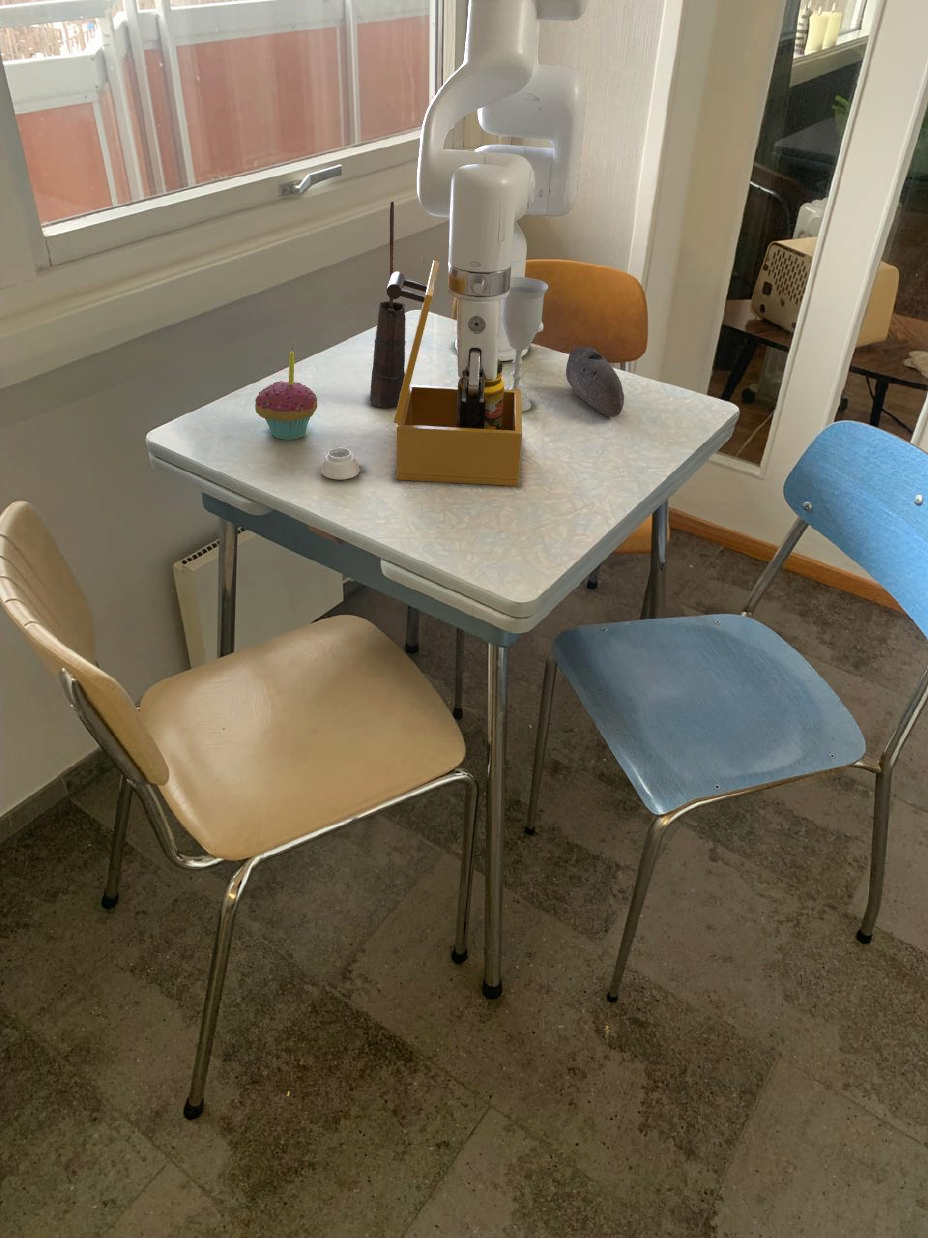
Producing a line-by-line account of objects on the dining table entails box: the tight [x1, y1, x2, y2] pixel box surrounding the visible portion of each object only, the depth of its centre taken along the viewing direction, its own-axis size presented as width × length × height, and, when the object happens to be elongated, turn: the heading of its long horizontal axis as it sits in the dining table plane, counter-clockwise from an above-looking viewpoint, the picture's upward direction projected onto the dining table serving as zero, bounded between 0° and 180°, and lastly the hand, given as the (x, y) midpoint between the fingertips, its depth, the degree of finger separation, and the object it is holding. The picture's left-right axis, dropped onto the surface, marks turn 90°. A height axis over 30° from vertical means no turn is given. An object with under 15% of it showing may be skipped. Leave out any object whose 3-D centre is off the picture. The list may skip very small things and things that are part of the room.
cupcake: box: [254, 345, 318, 441], centre depth 125 cm, size 9×8×12 cm
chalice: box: [501, 276, 549, 412], centre depth 134 cm, size 7×7×18 cm
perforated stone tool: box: [565, 346, 625, 418], centre depth 139 cm, size 15×5×7 cm, turn 18°
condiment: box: [456, 354, 505, 430], centre depth 120 cm, size 7×8×12 cm
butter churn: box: [369, 201, 407, 409], centre depth 130 cm, size 9×10×28 cm
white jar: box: [320, 447, 361, 481], centre depth 119 cm, size 5×3×5 cm
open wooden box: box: [396, 383, 523, 487], centre depth 123 cm, size 16×14×7 cm
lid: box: [386, 259, 441, 425], centre depth 115 cm, size 17×14×5 cm
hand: (472, 416), depth 121 cm, fingers closed on condiment, 6 cm apart
